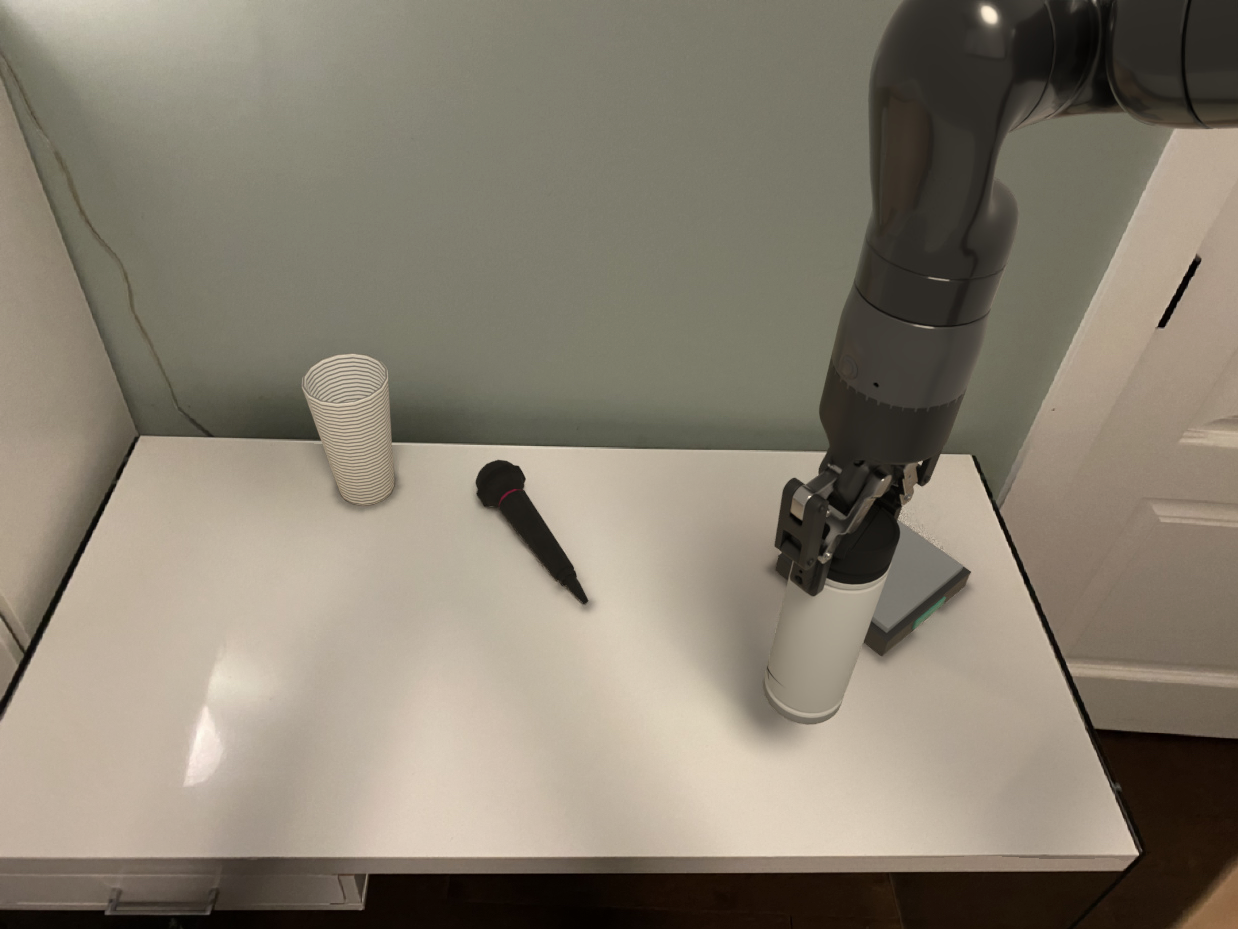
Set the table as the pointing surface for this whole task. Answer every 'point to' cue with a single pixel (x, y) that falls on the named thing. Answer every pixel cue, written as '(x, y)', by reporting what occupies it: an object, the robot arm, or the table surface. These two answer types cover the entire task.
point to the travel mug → (829, 622)
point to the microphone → (526, 519)
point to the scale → (907, 588)
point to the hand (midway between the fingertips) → (840, 560)
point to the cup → (353, 423)
